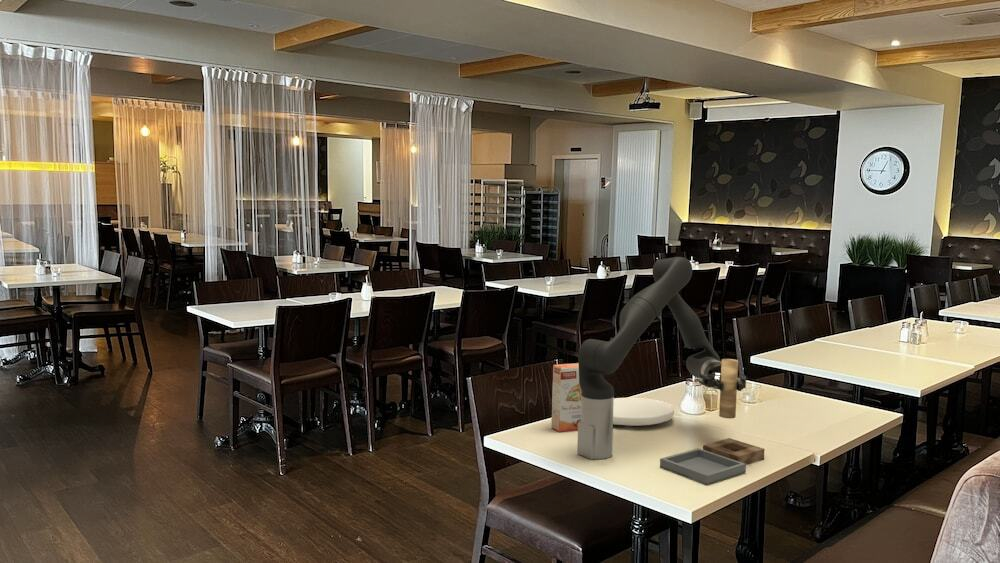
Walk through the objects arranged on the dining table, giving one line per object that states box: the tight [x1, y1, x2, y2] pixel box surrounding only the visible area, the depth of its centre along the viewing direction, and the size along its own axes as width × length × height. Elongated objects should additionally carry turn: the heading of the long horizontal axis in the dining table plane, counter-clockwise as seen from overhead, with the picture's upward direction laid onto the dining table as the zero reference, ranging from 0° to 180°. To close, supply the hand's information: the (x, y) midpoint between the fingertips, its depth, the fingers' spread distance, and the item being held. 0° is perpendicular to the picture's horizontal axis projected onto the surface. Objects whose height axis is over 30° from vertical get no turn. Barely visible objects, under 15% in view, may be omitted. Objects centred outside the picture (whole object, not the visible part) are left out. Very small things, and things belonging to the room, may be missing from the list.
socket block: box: [702, 437, 765, 466], centre depth 213 cm, size 12×12×3 cm
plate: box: [613, 397, 675, 427], centre depth 251 cm, size 28×6×27 cm
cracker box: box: [551, 362, 581, 433], centre depth 239 cm, size 14×6×21 cm, turn 113°
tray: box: [659, 447, 747, 486], centre depth 202 cm, size 16×16×2 cm
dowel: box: [718, 358, 739, 420], centre depth 209 cm, size 4×4×16 cm
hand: (731, 387), depth 206 cm, fingers closed on dowel, 4 cm apart
